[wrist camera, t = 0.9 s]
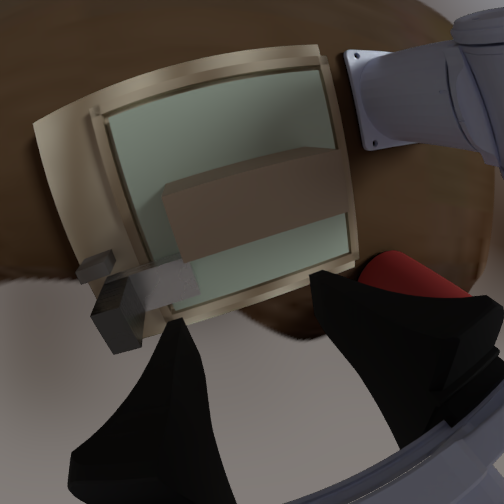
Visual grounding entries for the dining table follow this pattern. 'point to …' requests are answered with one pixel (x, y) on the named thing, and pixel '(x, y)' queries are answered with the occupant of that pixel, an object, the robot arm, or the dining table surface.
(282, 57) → the picture frame
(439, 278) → the beer can
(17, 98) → the dining table surface
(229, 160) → the cover
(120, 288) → the latch bolt
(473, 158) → the dining table surface
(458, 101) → the robot arm
